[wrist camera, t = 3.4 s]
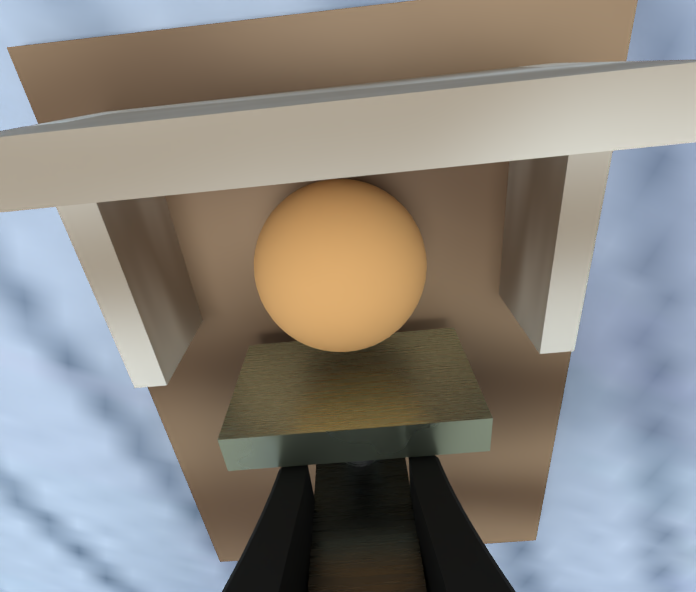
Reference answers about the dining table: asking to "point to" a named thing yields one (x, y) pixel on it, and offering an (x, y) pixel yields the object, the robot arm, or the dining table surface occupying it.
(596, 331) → the dining table surface
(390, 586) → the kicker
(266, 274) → the ball
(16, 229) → the dining table surface
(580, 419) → the dining table surface
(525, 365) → the brown piece
